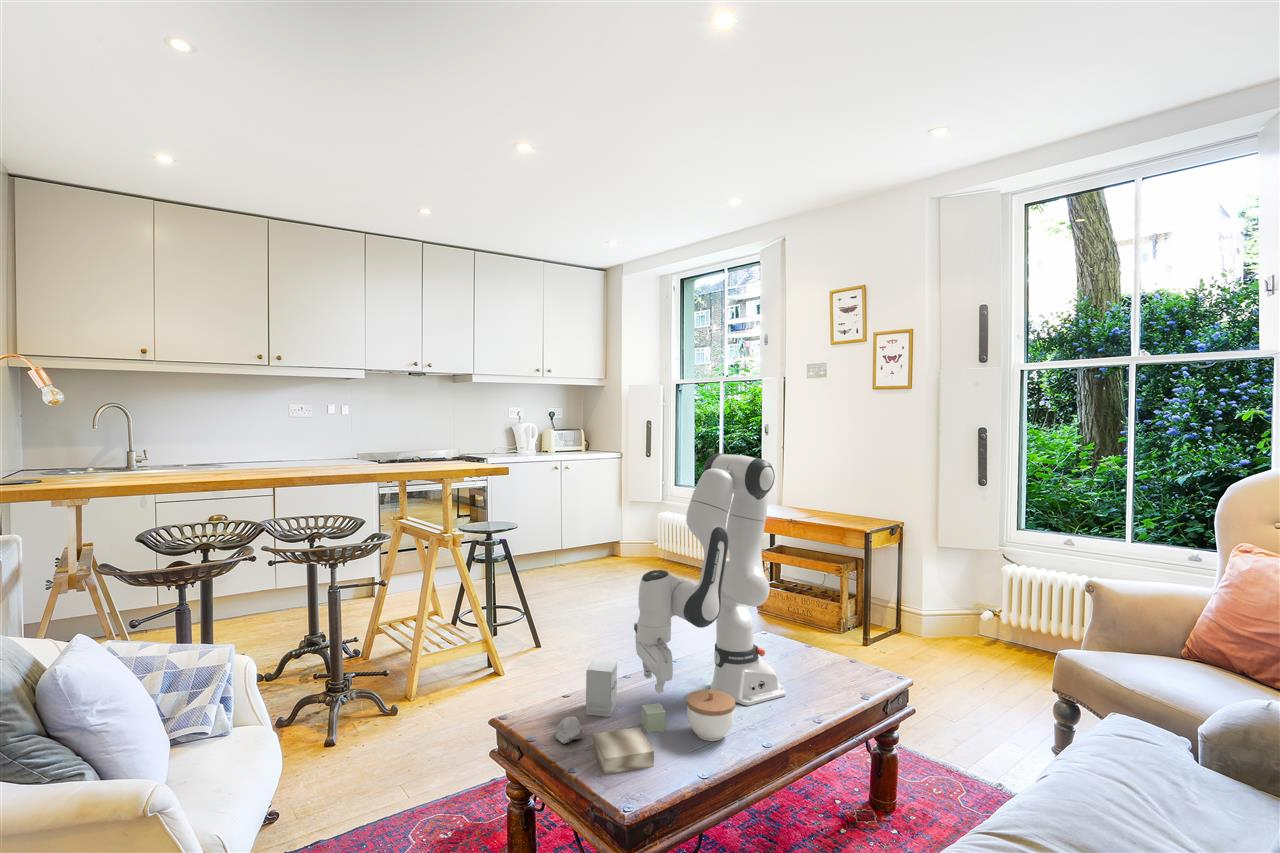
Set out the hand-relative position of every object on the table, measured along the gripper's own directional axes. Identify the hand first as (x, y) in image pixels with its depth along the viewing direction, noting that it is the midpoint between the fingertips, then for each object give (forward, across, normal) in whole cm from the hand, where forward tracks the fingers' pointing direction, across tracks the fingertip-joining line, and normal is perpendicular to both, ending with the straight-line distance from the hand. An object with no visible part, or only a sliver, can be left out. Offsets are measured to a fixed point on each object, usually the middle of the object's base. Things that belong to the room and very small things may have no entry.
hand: (653, 684), depth 171 cm
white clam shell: (+12, +1, +22) cm, 25 cm away
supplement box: (+12, +13, +11) cm, 21 cm away
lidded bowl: (+12, -8, -13) cm, 19 cm away
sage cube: (+12, 0, 0) cm, 12 cm away
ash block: (+12, -12, +12) cm, 21 cm away
